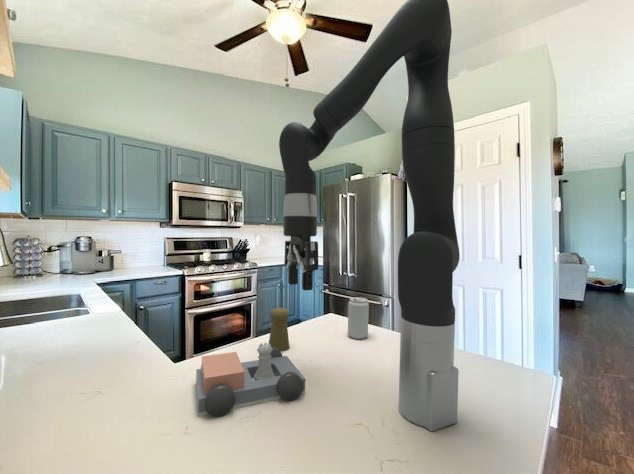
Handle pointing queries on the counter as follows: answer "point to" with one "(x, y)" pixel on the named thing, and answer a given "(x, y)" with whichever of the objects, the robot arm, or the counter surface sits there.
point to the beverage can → (358, 318)
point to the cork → (279, 329)
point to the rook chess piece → (264, 362)
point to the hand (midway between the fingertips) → (299, 286)
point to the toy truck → (244, 383)
